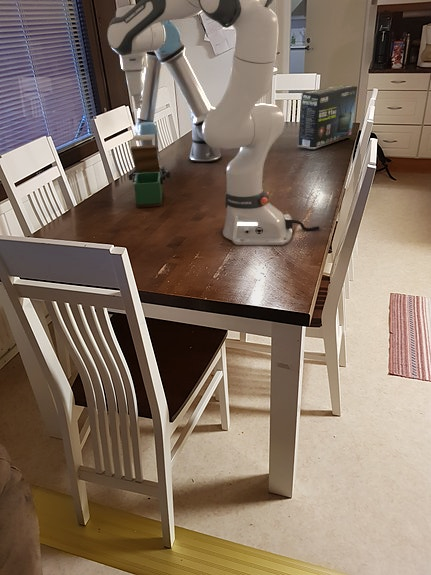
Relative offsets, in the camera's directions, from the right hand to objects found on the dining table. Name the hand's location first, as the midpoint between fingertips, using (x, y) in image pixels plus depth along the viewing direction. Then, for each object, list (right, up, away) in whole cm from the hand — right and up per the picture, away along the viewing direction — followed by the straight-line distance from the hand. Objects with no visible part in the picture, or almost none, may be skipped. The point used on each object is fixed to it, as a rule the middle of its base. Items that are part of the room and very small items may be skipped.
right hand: (139, 106), depth 159 cm
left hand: (+1, -22, +19) cm, 29 cm away
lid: (0, -15, +14) cm, 20 cm away
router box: (+85, +14, +85) cm, 121 cm away
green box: (+1, -29, +20) cm, 35 cm away
